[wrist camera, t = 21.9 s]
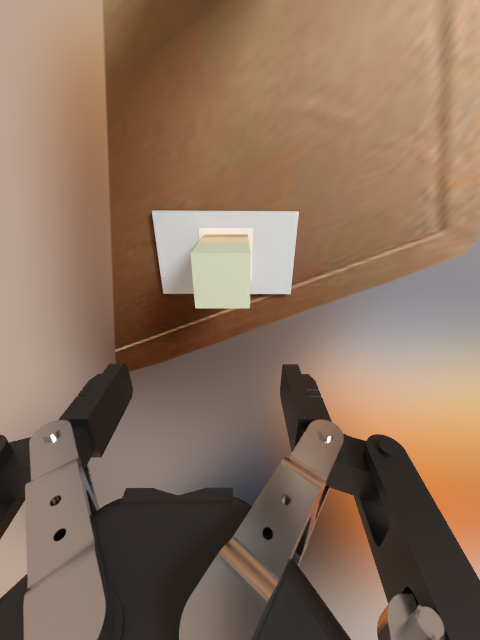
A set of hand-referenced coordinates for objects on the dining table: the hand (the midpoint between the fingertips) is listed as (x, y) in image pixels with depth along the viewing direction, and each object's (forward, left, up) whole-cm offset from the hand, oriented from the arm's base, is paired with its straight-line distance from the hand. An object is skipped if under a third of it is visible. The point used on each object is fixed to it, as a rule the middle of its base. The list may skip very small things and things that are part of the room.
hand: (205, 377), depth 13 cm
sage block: (0, 0, -21) cm, 21 cm away
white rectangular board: (0, 0, -28) cm, 28 cm away
